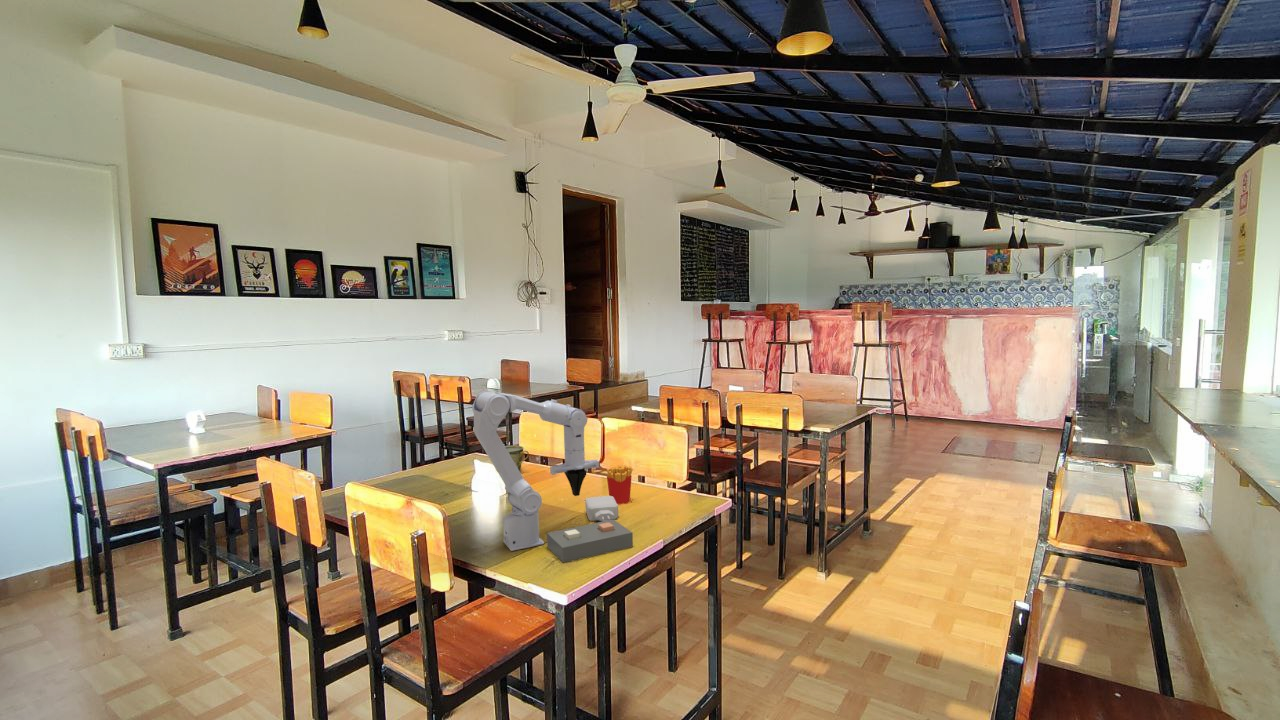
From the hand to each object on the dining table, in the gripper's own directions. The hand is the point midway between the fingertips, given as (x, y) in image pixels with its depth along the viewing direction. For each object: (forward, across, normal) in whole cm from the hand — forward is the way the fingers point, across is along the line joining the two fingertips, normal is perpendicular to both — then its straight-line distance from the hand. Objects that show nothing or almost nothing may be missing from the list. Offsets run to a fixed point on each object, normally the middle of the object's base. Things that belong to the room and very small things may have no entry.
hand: (576, 494), depth 179 cm
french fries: (+11, +22, +16) cm, 29 cm away
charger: (+11, +11, +5) cm, 16 cm away
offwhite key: (+8, -7, -14) cm, 18 cm away
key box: (+10, -2, -14) cm, 18 cm away
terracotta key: (+8, +3, -14) cm, 17 cm away
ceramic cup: (+11, +2, +70) cm, 71 cm away
